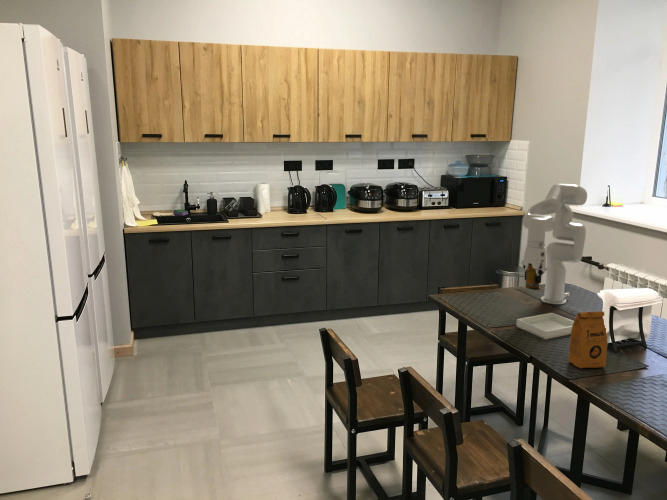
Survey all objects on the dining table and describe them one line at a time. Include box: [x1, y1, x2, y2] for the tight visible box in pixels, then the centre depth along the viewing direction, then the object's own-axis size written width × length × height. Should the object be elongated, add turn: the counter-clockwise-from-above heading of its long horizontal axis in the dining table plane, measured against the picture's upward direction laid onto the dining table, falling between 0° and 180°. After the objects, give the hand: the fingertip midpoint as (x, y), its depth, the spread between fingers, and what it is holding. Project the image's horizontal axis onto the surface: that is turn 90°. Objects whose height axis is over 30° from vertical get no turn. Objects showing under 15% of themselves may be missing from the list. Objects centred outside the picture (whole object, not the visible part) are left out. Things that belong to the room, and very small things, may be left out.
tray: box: [515, 312, 574, 340], centre depth 260 cm, size 22×18×4 cm
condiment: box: [521, 263, 546, 292], centre depth 266 cm, size 7×8×12 cm
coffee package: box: [568, 311, 609, 369], centre depth 219 cm, size 10×12×22 cm
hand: (532, 281), depth 267 cm, fingers closed on condiment, 6 cm apart
